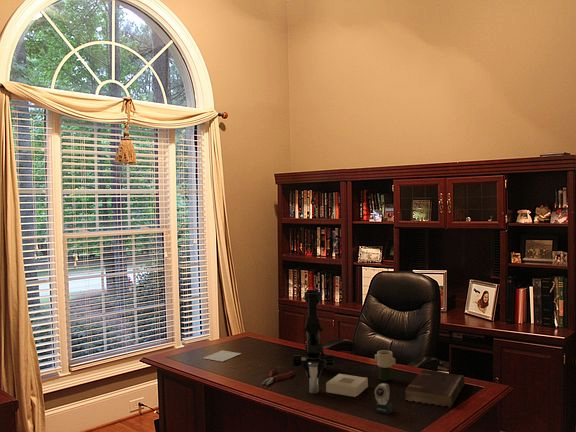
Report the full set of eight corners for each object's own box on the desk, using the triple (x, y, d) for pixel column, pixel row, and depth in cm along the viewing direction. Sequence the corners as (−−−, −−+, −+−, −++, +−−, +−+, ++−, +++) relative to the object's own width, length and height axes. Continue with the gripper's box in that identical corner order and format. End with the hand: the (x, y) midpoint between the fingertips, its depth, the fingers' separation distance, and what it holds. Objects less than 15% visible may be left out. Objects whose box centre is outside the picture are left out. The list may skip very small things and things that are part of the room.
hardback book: (451, 408, 215) (451, 396, 214) (405, 401, 223) (405, 389, 223) (464, 385, 240) (464, 374, 240) (422, 380, 249) (422, 369, 249)
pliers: (253, 385, 248) (252, 379, 248) (274, 372, 266) (274, 367, 266) (274, 389, 243) (274, 383, 243) (294, 375, 261) (294, 370, 261)
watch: (372, 413, 210) (372, 386, 210) (381, 407, 217) (380, 380, 217) (386, 416, 207) (385, 388, 207) (394, 409, 214) (393, 382, 214)
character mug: (399, 380, 248) (399, 352, 248) (391, 384, 243) (391, 356, 243) (379, 375, 256) (378, 348, 255) (371, 379, 250) (370, 351, 250)
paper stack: (255, 356, 294) (255, 355, 294) (226, 369, 272) (226, 368, 272) (222, 351, 306) (222, 350, 306) (192, 363, 285) (192, 362, 285)
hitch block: (339, 382, 248) (339, 373, 248) (367, 386, 241) (367, 377, 241) (326, 392, 236) (325, 383, 236) (355, 397, 229) (355, 387, 229)
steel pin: (311, 389, 240) (310, 360, 239) (321, 390, 237) (320, 361, 237) (307, 392, 236) (306, 363, 235) (316, 394, 233) (315, 364, 233)
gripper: (291, 337, 240) (291, 369, 230) (333, 336, 239) (334, 369, 228) (293, 349, 248) (292, 381, 238) (333, 349, 247) (334, 381, 237)
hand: (313, 378), depth 235 cm, fingers closed on steel pin, 4 cm apart
